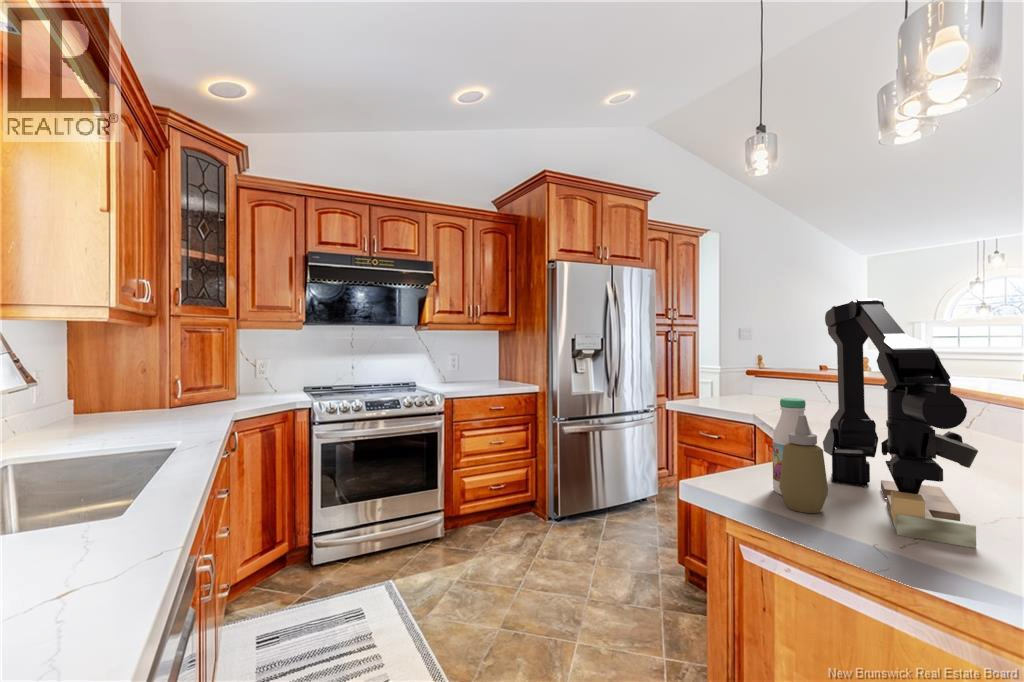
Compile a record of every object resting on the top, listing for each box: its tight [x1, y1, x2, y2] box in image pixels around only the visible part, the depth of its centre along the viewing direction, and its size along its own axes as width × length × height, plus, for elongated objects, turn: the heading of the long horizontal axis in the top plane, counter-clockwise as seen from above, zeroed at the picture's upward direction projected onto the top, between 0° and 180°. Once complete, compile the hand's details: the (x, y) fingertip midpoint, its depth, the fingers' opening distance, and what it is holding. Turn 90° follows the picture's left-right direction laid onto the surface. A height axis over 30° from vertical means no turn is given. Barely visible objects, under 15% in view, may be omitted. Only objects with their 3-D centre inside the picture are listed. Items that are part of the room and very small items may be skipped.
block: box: [890, 491, 925, 522], centre depth 80 cm, size 4×4×4 cm
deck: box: [880, 479, 977, 549], centre depth 87 cm, size 10×27×3 cm, turn 146°
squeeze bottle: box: [779, 414, 829, 514], centre depth 91 cm, size 8×8×18 cm
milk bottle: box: [772, 397, 813, 496], centre depth 99 cm, size 8×8×20 cm
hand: (909, 506), depth 82 cm, fingers closed
